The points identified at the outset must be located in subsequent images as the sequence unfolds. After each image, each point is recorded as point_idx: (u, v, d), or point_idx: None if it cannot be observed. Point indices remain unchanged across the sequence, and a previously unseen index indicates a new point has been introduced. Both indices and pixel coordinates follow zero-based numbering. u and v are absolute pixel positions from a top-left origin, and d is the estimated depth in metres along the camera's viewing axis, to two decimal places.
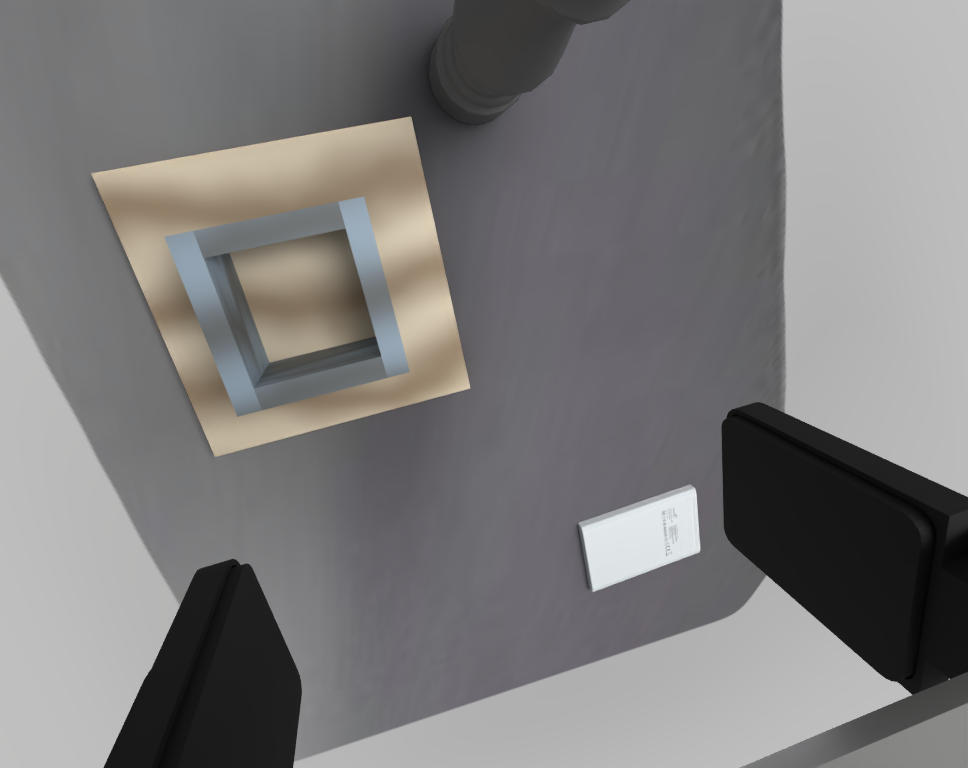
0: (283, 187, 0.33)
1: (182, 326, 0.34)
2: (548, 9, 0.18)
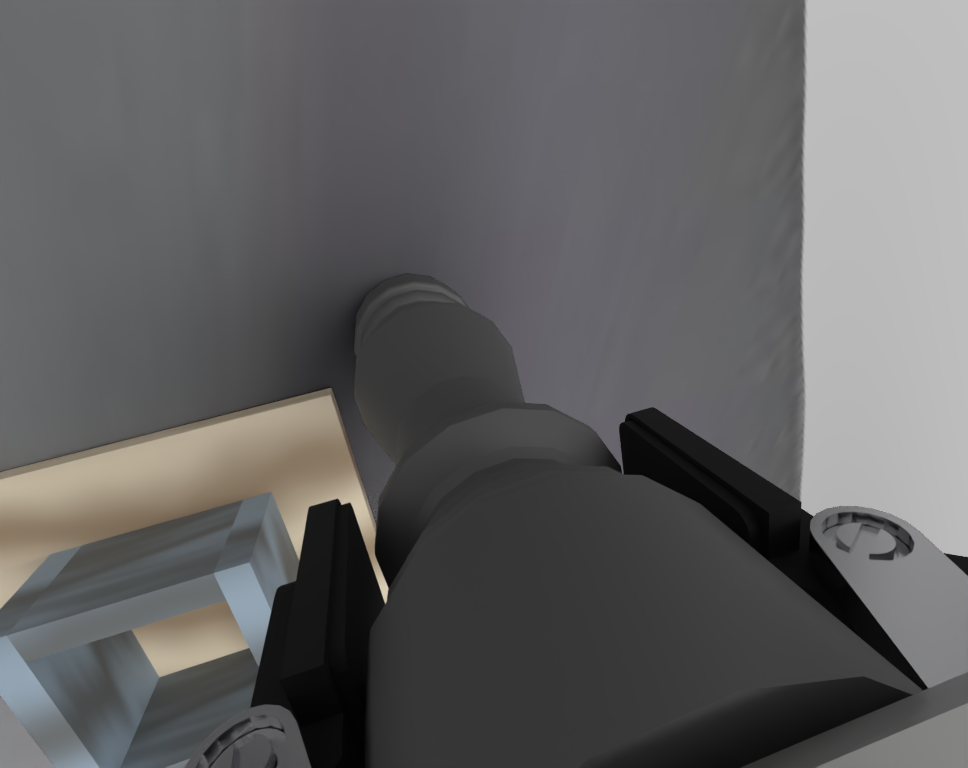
0: (164, 491, 0.26)
1: None
2: None
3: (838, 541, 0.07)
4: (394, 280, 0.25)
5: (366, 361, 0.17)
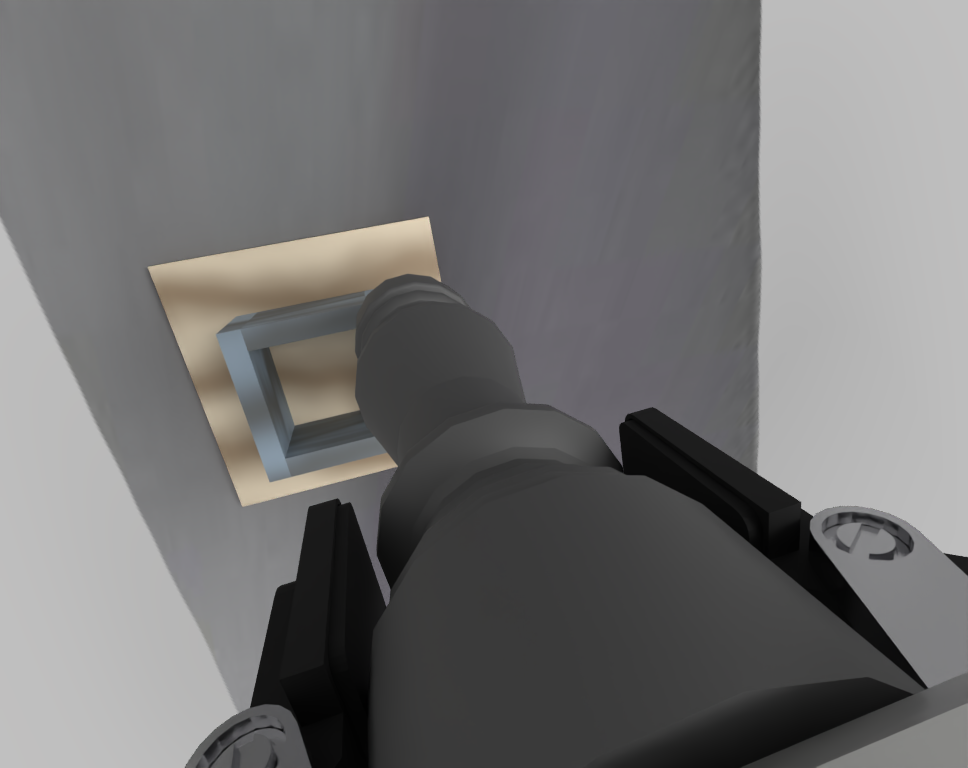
0: (314, 277, 0.38)
1: (219, 394, 0.39)
2: None
3: (838, 541, 0.07)
4: (395, 280, 0.25)
5: (367, 362, 0.17)
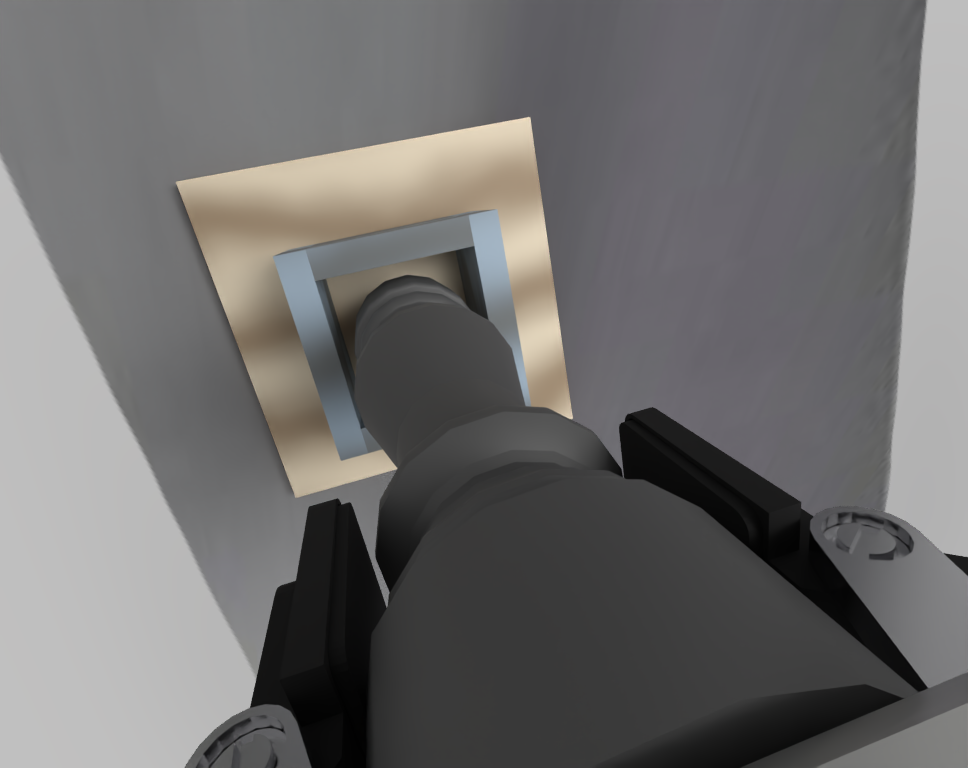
0: (386, 197, 0.29)
1: (267, 353, 0.30)
2: None
3: (838, 541, 0.07)
4: (394, 281, 0.25)
5: (366, 363, 0.17)
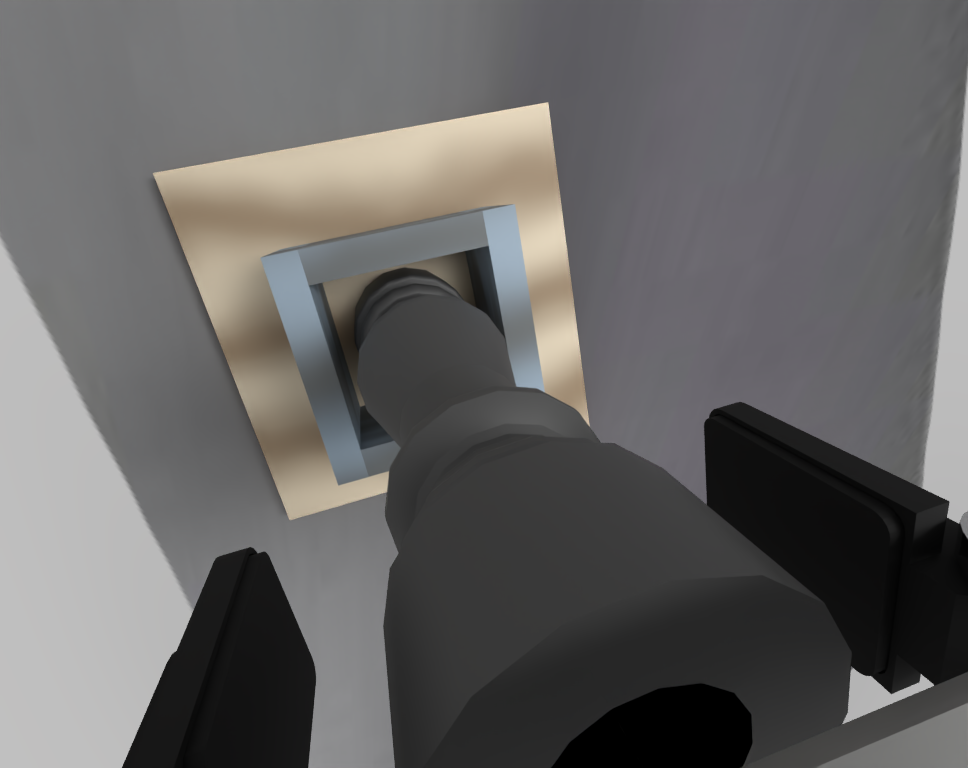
0: (389, 191, 0.26)
1: (258, 364, 0.28)
2: None
3: None
4: (392, 274, 0.26)
5: (369, 351, 0.18)
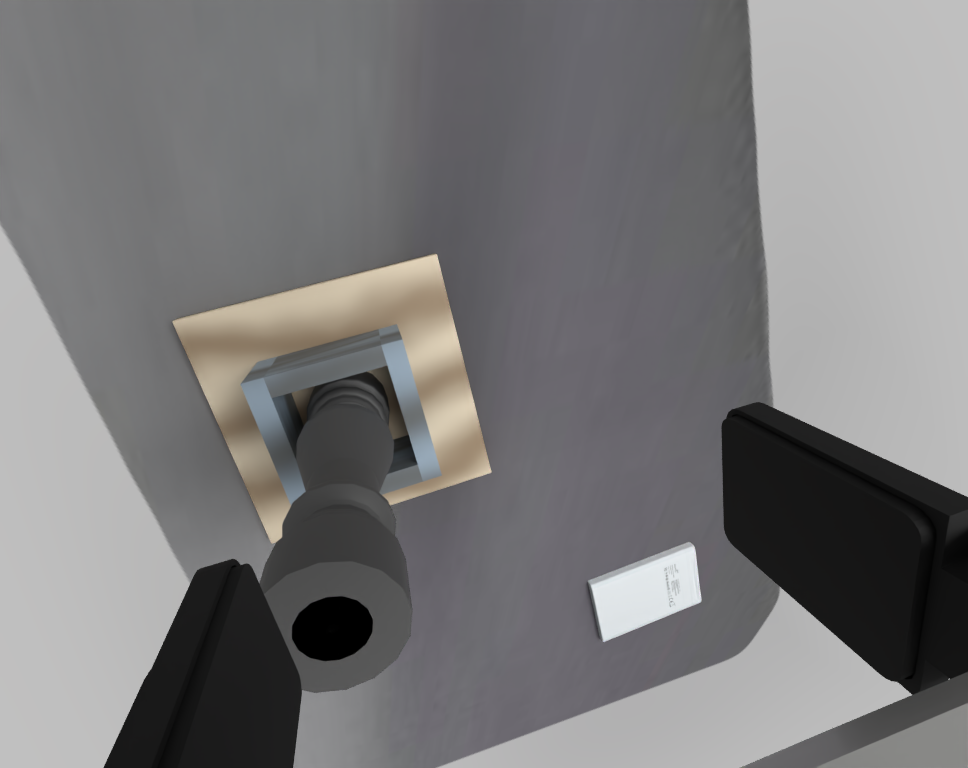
0: (329, 319, 0.39)
1: (245, 437, 0.40)
2: None
3: None
4: None
5: (300, 442, 0.31)
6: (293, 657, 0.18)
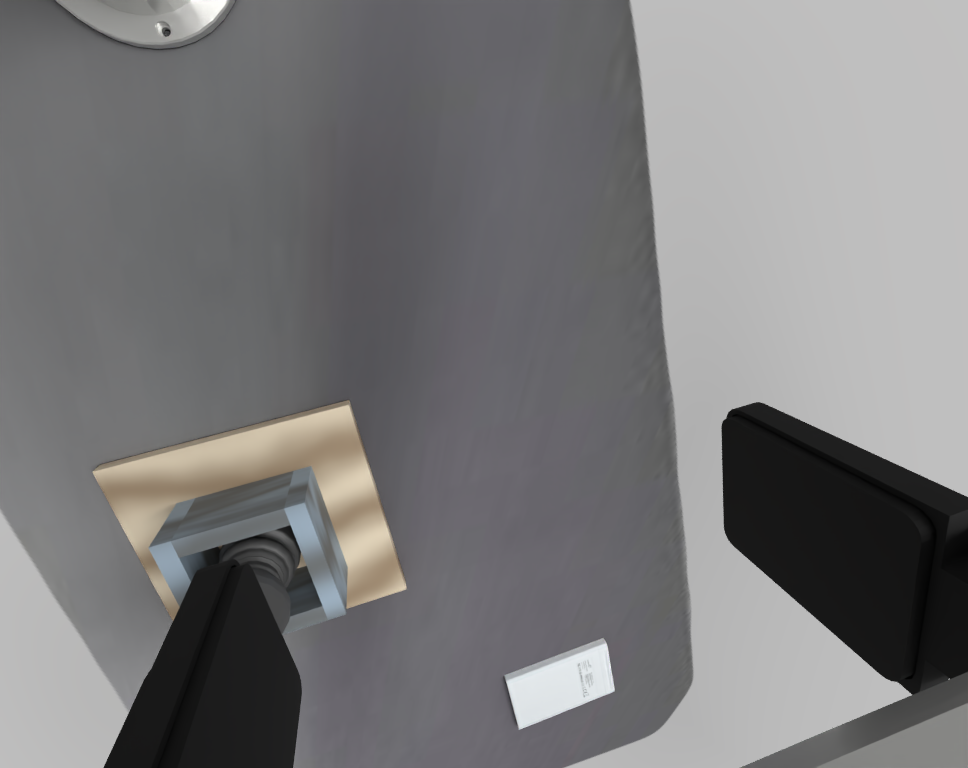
0: (246, 464, 0.42)
1: None
2: None
3: None
4: None
5: None
6: None
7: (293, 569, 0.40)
